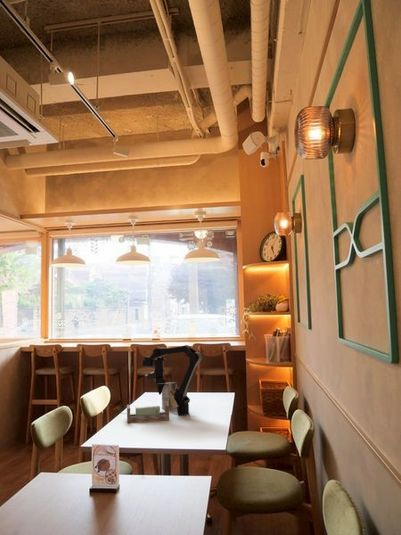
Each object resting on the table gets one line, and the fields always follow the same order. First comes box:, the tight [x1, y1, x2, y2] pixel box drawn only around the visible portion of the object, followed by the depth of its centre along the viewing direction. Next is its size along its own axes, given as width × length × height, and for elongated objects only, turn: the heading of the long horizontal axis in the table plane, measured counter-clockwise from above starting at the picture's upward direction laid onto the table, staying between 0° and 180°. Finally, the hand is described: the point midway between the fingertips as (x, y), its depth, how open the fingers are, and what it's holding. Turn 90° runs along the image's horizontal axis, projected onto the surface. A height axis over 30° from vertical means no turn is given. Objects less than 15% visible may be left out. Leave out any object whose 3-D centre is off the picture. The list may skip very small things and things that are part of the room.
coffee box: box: [161, 381, 179, 411], centre depth 277 cm, size 9×6×16 cm
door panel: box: [135, 405, 161, 416], centre depth 248 cm, size 14×3×6 cm, turn 100°
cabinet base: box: [126, 403, 170, 424], centre depth 248 cm, size 24×10×8 cm, turn 100°
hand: (159, 393), depth 265 cm, fingers open, 9 cm apart
